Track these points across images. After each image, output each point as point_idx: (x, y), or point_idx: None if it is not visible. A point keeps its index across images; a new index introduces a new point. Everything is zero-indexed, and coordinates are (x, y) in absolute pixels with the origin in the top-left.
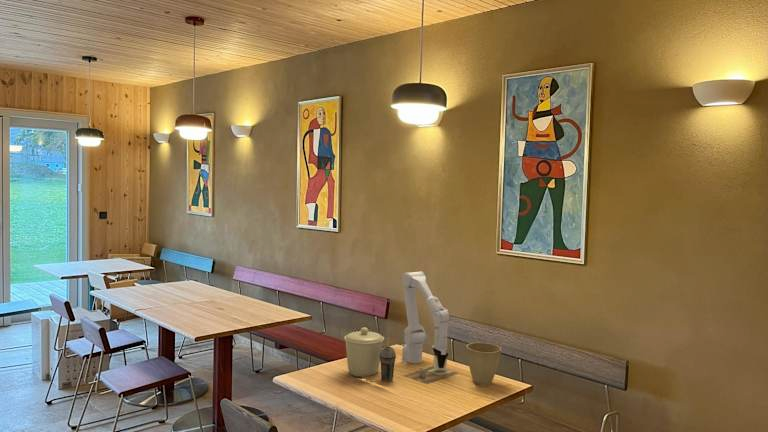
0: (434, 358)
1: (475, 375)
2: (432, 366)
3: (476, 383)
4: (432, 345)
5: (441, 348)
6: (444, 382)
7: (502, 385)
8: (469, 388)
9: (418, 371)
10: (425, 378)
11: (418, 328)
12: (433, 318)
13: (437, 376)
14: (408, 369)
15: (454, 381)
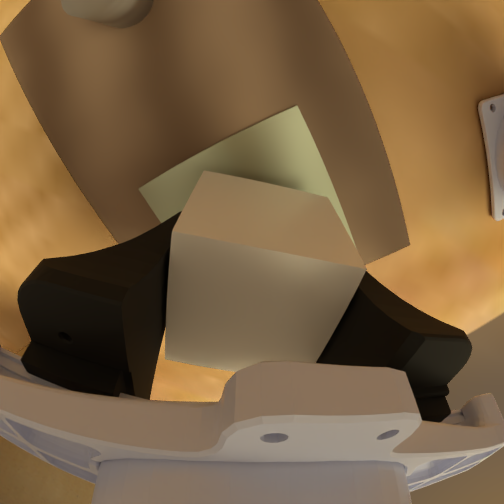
0: (299, 239)
1: (16, 353)
2: (403, 218)
3: None
4: (399, 435)
5: (87, 457)
6: (66, 176)
7: None
8: (7, 276)
9: (314, 19)
10: (95, 28)
11: None
12: None
13: (123, 149)
14: (444, 21)
15: (86, 250)
